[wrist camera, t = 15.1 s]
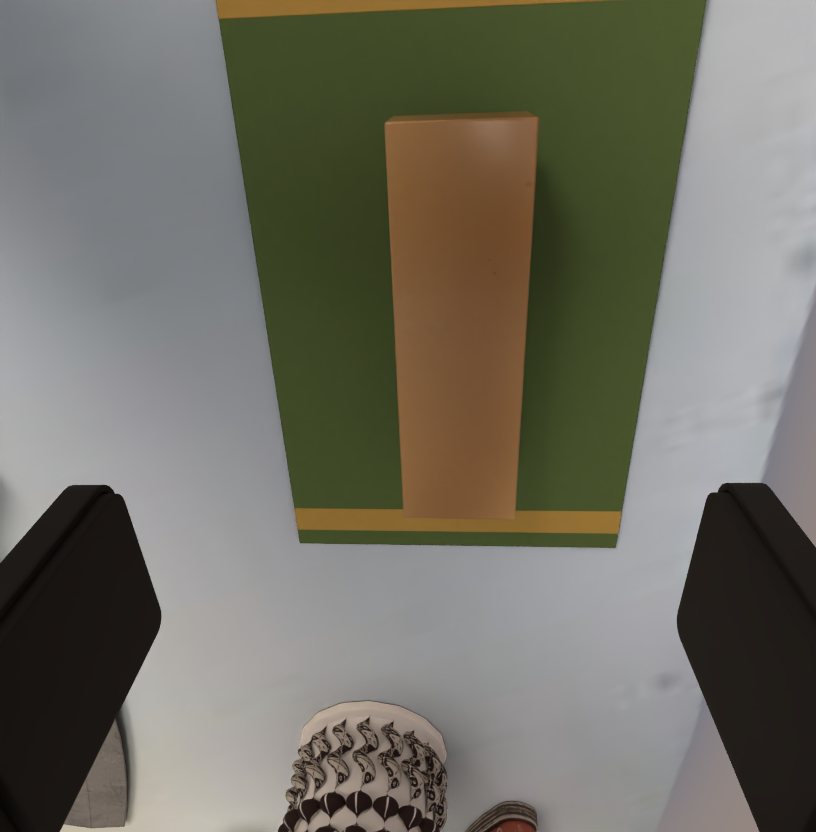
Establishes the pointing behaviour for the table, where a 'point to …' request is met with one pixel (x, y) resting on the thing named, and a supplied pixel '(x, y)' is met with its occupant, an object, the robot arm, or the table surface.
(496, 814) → the lighter
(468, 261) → the chalkboard eraser
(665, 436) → the table surface
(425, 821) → the decorative candle
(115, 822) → the cleaver
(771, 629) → the robot arm
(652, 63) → the cloth
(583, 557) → the table surface
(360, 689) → the table surface
